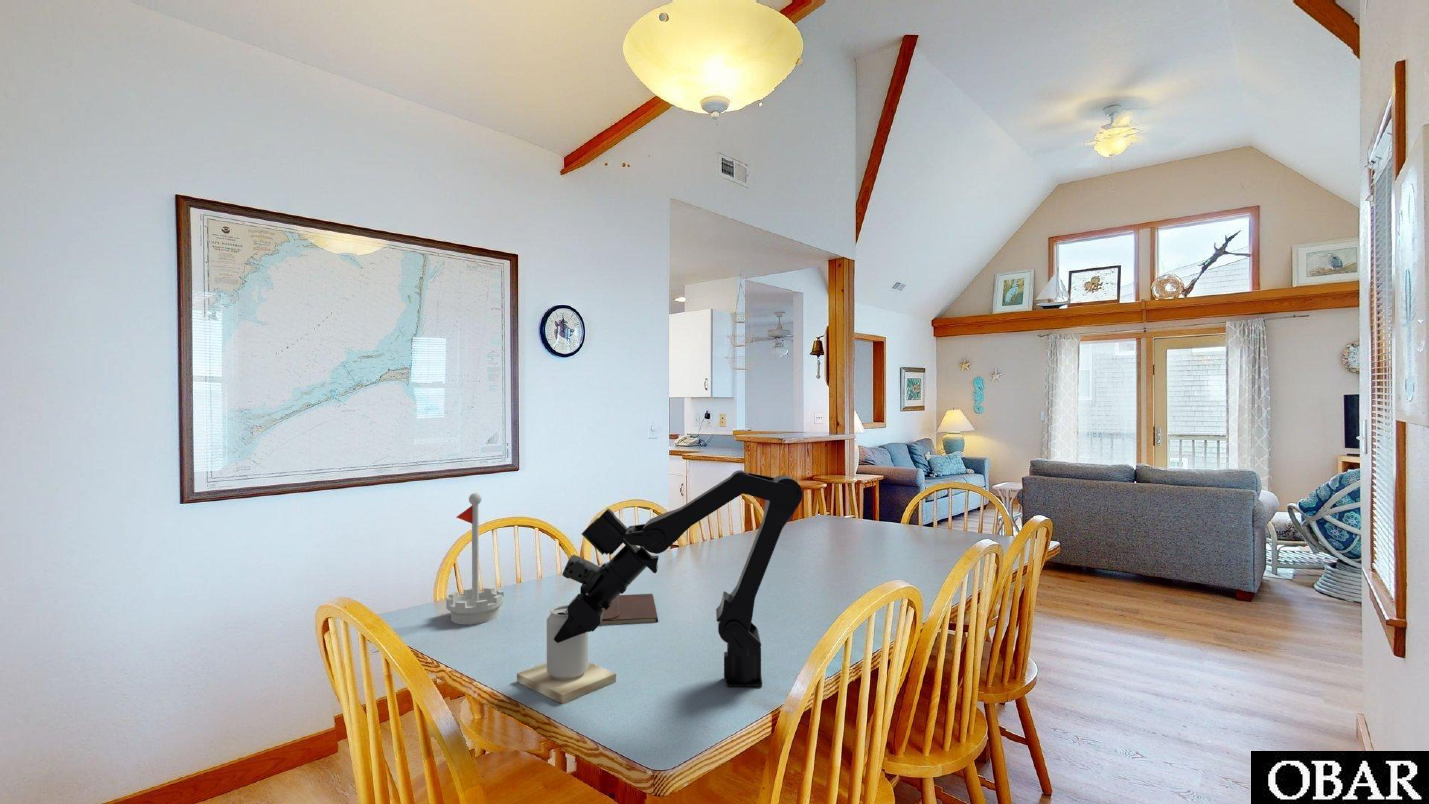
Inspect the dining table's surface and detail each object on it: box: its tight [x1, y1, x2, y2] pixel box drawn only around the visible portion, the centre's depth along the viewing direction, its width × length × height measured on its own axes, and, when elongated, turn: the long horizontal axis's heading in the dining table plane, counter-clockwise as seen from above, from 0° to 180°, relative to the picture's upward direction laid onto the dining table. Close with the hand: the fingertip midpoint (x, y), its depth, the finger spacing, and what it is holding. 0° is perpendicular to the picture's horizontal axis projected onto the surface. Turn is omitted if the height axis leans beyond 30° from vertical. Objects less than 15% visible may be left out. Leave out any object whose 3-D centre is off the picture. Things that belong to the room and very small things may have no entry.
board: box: [516, 661, 617, 704], centre depth 123 cm, size 14×12×2 cm
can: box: [546, 604, 589, 680], centre depth 123 cm, size 8×8×12 cm
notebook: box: [599, 593, 659, 626], centre depth 165 cm, size 15×20×2 cm
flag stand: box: [445, 492, 505, 625], centre depth 161 cm, size 13×13×30 cm
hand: (560, 632), depth 123 cm, fingers open, 9 cm apart
